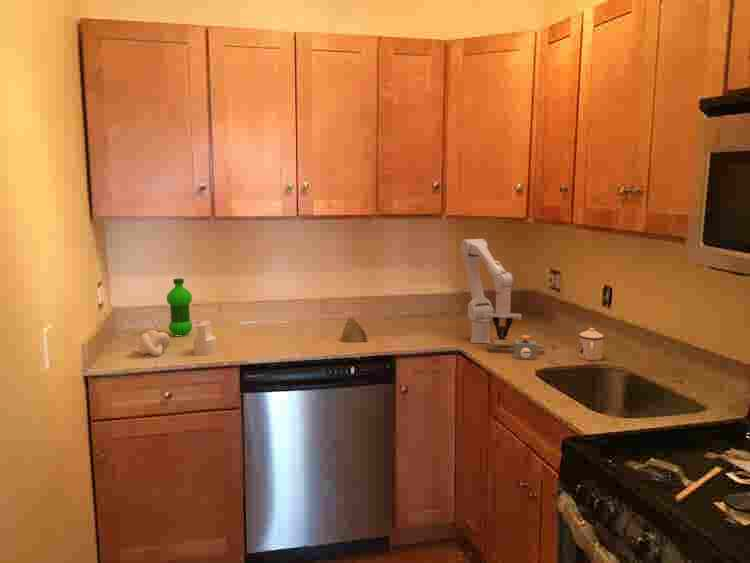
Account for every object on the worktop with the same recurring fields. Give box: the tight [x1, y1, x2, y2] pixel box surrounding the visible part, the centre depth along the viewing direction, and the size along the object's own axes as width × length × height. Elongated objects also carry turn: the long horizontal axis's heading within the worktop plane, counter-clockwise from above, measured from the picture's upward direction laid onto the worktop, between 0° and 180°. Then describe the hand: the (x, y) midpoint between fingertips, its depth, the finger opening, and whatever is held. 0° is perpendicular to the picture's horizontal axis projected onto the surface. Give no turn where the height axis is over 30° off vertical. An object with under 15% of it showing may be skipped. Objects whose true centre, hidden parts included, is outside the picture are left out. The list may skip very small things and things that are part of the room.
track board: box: [487, 343, 546, 355], centre depth 254 cm, size 9×22×2 cm, turn 81°
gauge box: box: [513, 339, 537, 360], centre depth 244 cm, size 7×8×6 cm
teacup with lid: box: [578, 327, 605, 361], centre depth 242 cm, size 12×9×12 cm
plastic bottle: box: [166, 278, 193, 337], centre depth 276 cm, size 10×10×25 cm
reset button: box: [520, 334, 531, 343], centre depth 243 cm, size 4×4×2 cm
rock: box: [340, 317, 368, 343], centre depth 267 cm, size 11×9×10 cm
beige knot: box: [138, 329, 171, 357], centre depth 247 cm, size 11×12×9 cm
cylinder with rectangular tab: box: [192, 320, 218, 357], centre depth 248 cm, size 9×9×12 cm
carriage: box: [493, 325, 511, 347], centre depth 254 cm, size 6×6×8 cm
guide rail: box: [489, 341, 543, 348], centre depth 254 cm, size 2×21×1 cm, turn 81°
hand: (502, 336), depth 254 cm, fingers closed on carriage, 2 cm apart
